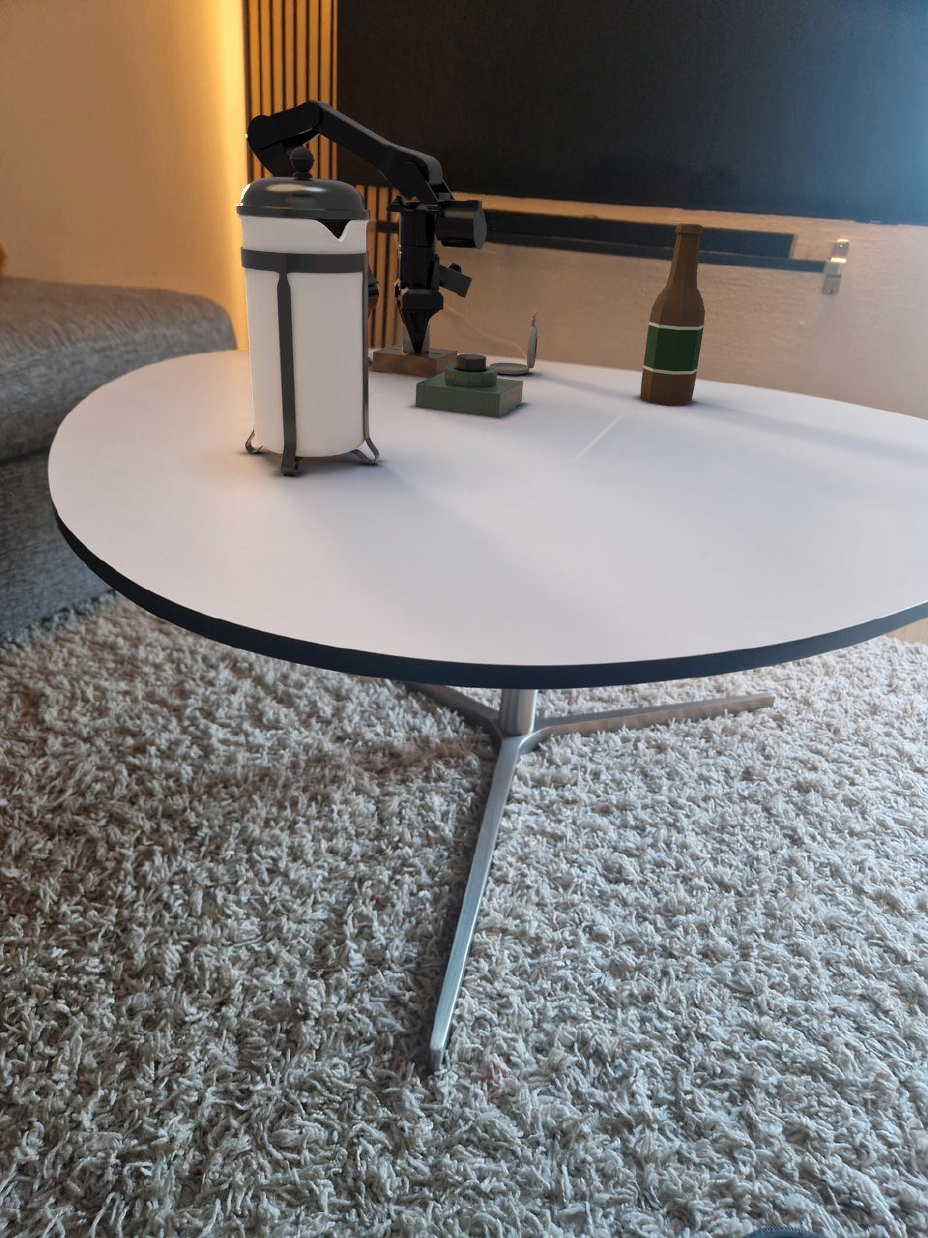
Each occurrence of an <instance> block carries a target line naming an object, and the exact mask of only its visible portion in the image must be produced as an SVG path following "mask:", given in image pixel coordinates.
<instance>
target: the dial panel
mask: <svg viewBox="0 0 928 1238" xmlns="http://www.w3.org/2000/svg"><path fill="white" fill-rule="evenodd" d="M457 355H458V350H454V349H444V348H435V347H430V351H429V352H427V353H409V352H404V351H403V350H402V344H398V343H397V344H394V345H393V344H392V345H390V346H387V347H384V348H380V349H378V350H374V351H372V371H373V372H379V373H380V372H381V373H390V374H399V375H408V376H415V377H417V376H418V377H426V378H431V377H433V376H436V375H438V374H440V373H443V372H445V367H447V366H450V365H457Z"/></svg>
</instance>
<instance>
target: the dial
mask: <svg viewBox="0 0 928 1238" xmlns="http://www.w3.org/2000/svg"><path fill="white" fill-rule="evenodd" d="M401 337H402V338H401V339H402V341H401V343H402V344H401V345H402V350H403V351H404V352H409V353H416V352H414V349H413V346H412V343H411V340H410V337H409V334H408V331H407V328H406V325H405V324H403V323H402V336H401ZM430 343H431V325H430V324H428V326H427V330H426V334H425V339H424V343H423V347H422V351H421V352H420V353H427V352H429V351H430V348H431V347H430V345H431V344H430Z"/></svg>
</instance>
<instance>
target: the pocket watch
mask: <svg viewBox="0 0 928 1238" xmlns="http://www.w3.org/2000/svg"><path fill="white" fill-rule="evenodd" d="M537 315H538V310H535V313H534V315H532V316H531V317H532V318H531V327H530V328H529V331H528V335H527V336H528V338H527V348H526V364H522V363H516V362H493V363H490V364H489V365H488V366H489V367H492V368H495V369H496V370H497V374H503V375H510V376H511V375H518V376H519V375H524V374H527V373H529V371H530V369H534V367H535V364H536V359H537V358H536V357H537V348H538V326H536V321H537V318H536V317H537Z"/></svg>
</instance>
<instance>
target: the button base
mask: <svg viewBox="0 0 928 1238" xmlns="http://www.w3.org/2000/svg"><path fill="white" fill-rule="evenodd" d="M456 369H457V365H450V366H447V367H445V372H443V373H440V374H438V375H436V376H433V377H427V378H426V379H424V380H421V381H419V382H416V383H415V408H421V409H428V410H436V411H444V412H450V413H460V414H465V415H466V414H468V415H474V416H483V417H490V418H496V419H497V418H501V417H503V416H504V415H505V414H507V413H509V412H510V411H512V410H513V409H515V408H517V407H519V406H520V405H522V404H523V403H522V401H523V390H524V389H523V387H524V380H519V379H518V380H517V379H509V378H500V377H498V373H497V370H496V369H495V368H492V367H489V365H486V371H484V372H465V371H459V370H456Z"/></svg>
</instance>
